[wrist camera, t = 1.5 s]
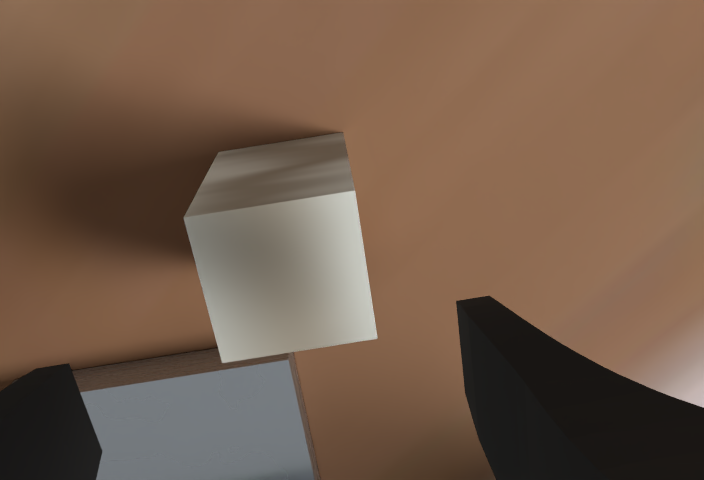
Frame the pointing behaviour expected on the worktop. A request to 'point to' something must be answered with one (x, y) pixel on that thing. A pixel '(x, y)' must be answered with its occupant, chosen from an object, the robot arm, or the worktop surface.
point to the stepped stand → (199, 418)
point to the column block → (281, 249)
